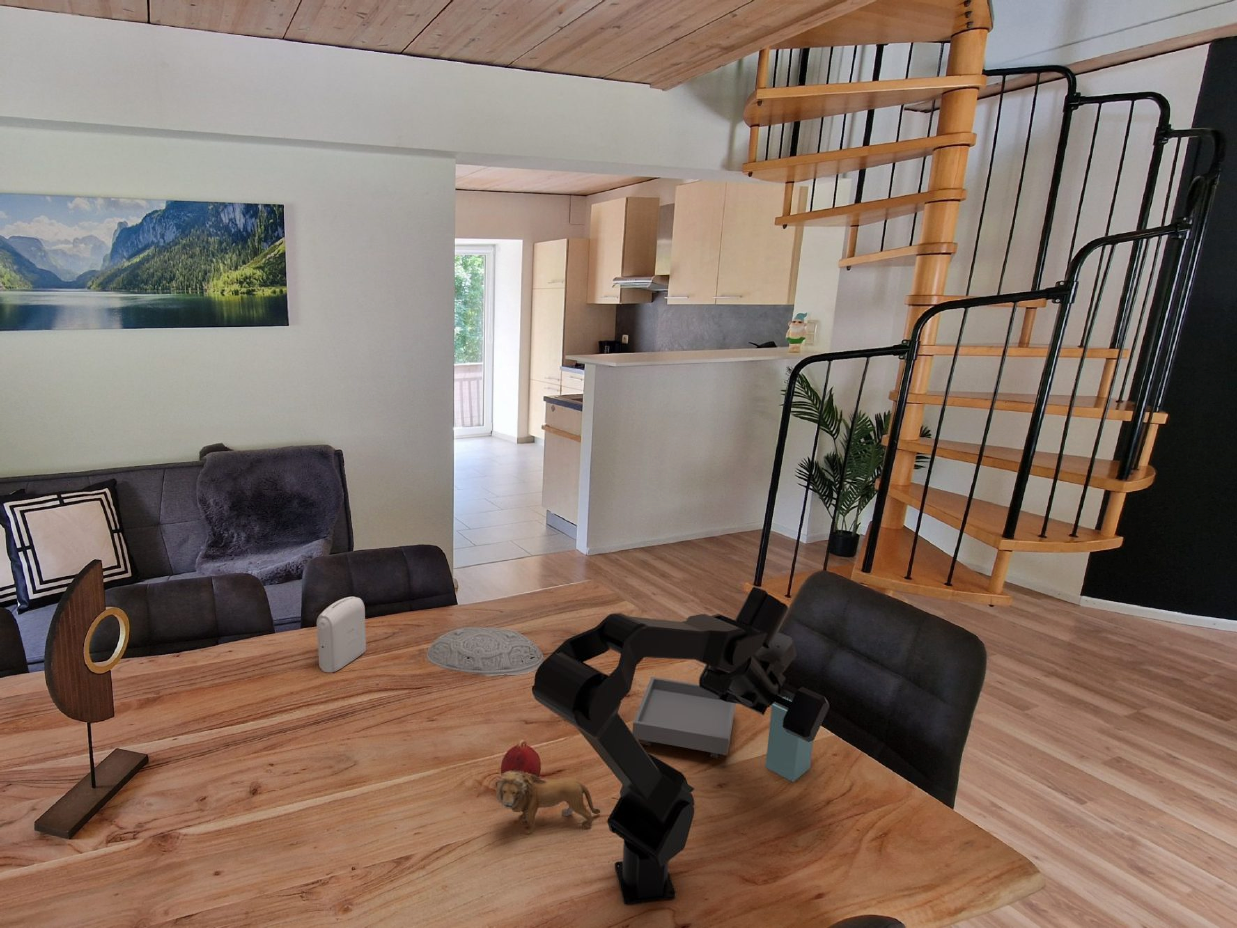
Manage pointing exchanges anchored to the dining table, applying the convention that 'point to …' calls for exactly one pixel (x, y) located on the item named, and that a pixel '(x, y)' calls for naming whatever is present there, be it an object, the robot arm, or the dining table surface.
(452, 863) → the dining table surface
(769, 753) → the light blue block
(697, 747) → the grey footed tray
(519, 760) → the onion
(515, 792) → the lion figurine
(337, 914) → the dining table surface
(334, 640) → the photo printer
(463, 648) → the grey carved oval dome
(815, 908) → the dining table surface
